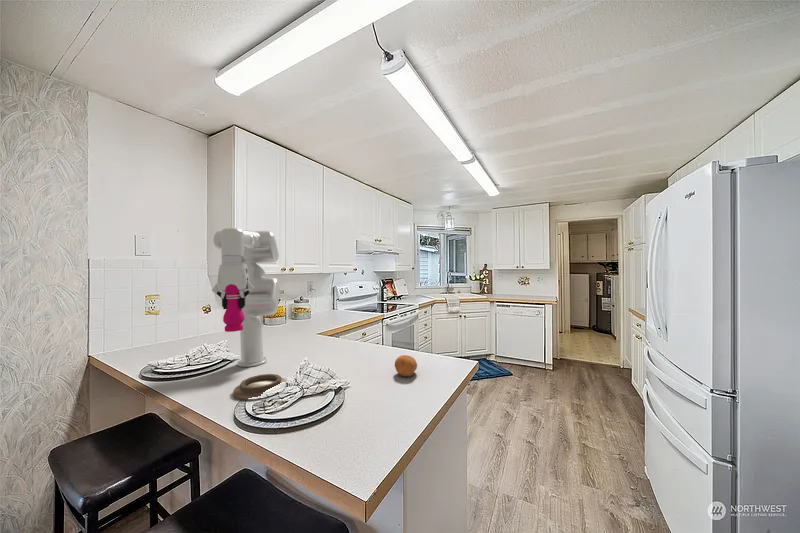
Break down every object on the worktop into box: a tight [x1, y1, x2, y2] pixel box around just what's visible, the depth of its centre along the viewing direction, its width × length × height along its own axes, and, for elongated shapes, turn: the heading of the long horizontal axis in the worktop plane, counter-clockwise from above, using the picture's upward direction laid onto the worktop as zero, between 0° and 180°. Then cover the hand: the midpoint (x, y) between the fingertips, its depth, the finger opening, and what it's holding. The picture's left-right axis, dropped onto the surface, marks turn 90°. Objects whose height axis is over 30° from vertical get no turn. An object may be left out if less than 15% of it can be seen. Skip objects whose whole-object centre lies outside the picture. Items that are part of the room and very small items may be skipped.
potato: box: [394, 354, 418, 377], centre depth 123 cm, size 9×11×8 cm
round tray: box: [232, 373, 287, 401], centre depth 110 cm, size 18×18×3 cm
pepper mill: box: [222, 284, 245, 333], centre depth 115 cm, size 7×7×20 cm
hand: (233, 308), depth 115 cm, fingers closed on pepper mill, 5 cm apart
